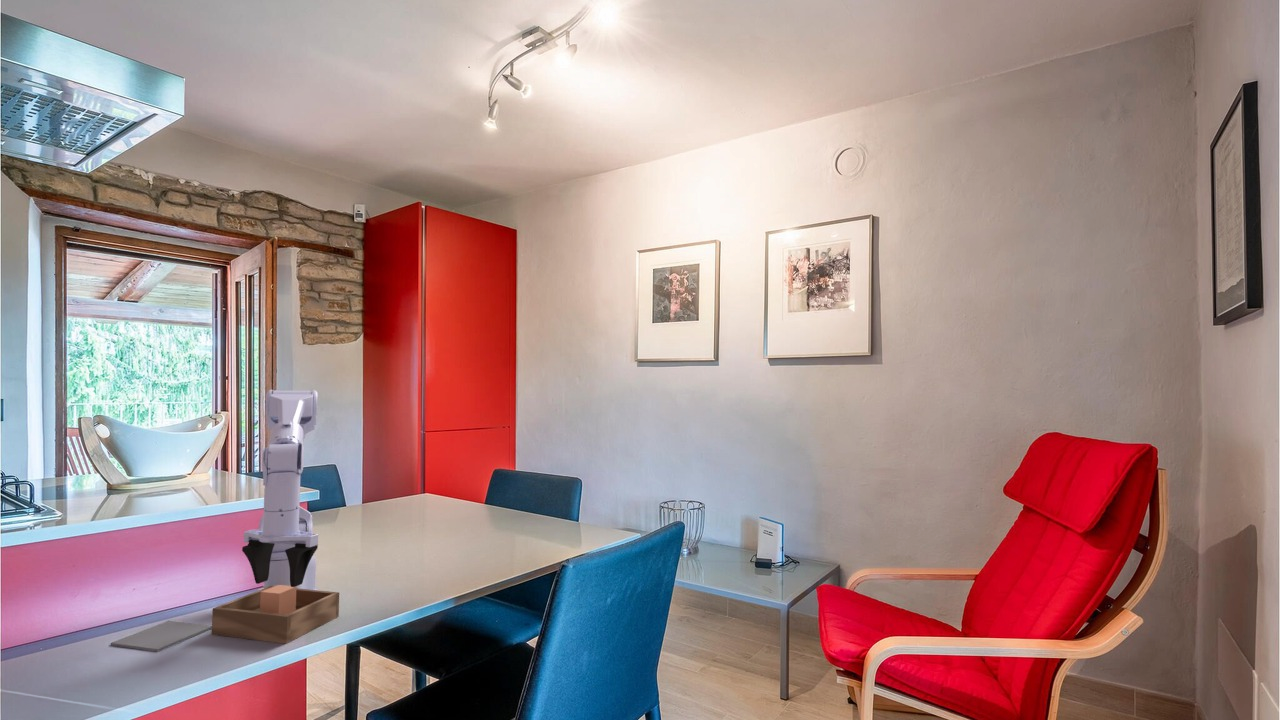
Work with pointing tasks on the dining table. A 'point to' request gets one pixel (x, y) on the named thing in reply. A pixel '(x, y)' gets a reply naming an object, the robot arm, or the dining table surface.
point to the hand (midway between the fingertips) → (279, 583)
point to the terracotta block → (278, 600)
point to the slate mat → (162, 636)
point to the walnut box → (274, 616)
